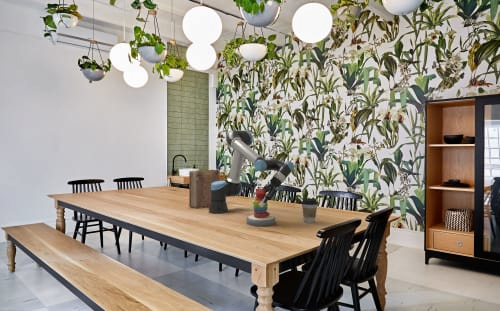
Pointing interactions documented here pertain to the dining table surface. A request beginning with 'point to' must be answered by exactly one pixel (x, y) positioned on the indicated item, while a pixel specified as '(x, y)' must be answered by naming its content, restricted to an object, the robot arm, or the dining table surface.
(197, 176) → the book
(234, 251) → the dining table surface
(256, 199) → the stacking bear
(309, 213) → the coffee cup
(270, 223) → the pedestal
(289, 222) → the dining table surface
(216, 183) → the robot arm
